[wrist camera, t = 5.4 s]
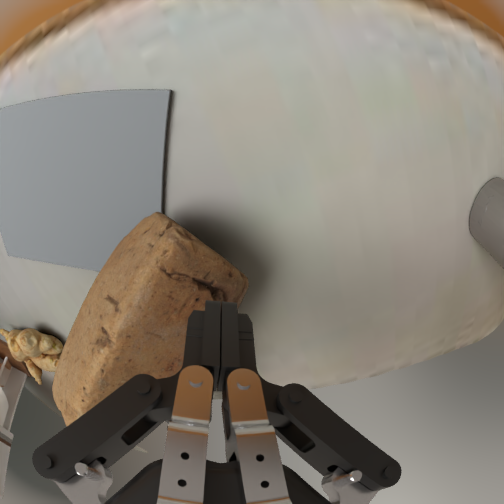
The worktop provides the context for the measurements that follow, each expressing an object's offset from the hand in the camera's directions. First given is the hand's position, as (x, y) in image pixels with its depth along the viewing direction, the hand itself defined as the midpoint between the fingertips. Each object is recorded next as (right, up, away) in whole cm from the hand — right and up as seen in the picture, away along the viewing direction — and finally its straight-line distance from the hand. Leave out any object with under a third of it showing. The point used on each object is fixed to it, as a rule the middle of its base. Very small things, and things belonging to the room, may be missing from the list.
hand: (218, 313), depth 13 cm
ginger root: (-34, -12, +22) cm, 42 cm away
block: (-2, +4, +8) cm, 9 cm away
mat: (-17, +9, +7) cm, 20 cm away
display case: (-51, -18, +24) cm, 59 cm away
